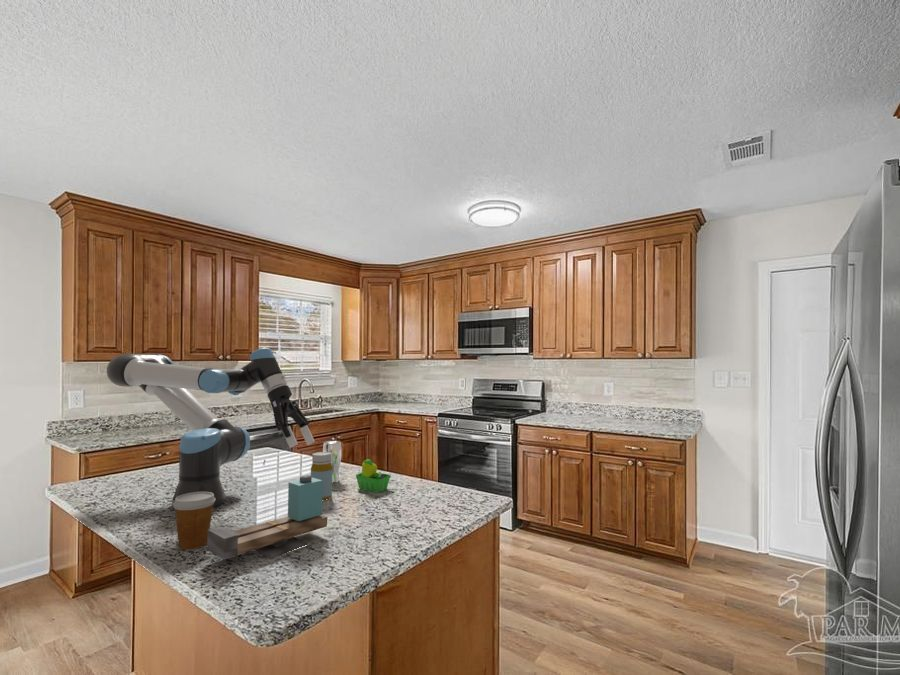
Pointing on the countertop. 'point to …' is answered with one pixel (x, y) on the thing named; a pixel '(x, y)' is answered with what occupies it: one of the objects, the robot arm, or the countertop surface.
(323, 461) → the bottle
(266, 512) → the countertop surface
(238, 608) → the countertop surface
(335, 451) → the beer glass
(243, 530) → the balance beam
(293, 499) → the block
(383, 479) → the fruit basket
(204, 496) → the disposable coffee cup
